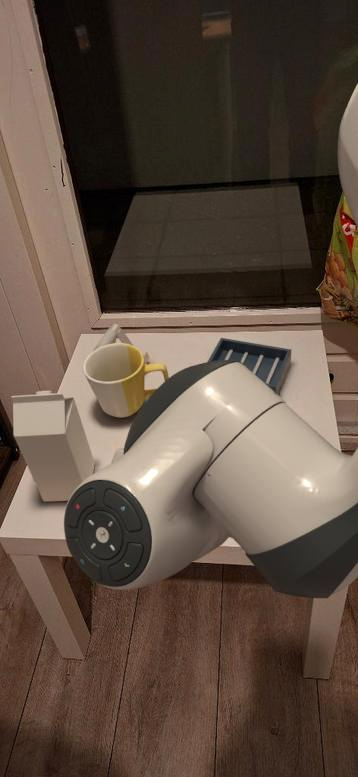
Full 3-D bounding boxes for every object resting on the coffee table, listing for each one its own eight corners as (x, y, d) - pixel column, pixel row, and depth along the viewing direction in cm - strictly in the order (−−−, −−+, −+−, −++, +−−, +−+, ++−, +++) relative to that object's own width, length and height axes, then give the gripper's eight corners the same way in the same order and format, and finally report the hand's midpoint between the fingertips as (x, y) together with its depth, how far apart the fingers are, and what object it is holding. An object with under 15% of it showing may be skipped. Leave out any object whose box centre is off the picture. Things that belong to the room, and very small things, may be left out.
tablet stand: (134, 390, 99) (124, 354, 94) (95, 385, 102) (84, 350, 96) (150, 361, 105) (142, 325, 100) (113, 357, 108) (104, 322, 102)
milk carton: (89, 500, 82) (57, 412, 70) (43, 502, 83) (3, 415, 70) (95, 463, 88) (67, 375, 75) (52, 466, 88) (17, 379, 75)
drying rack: (290, 364, 101) (291, 349, 98) (275, 402, 94) (276, 387, 91) (221, 351, 105) (220, 337, 103) (202, 387, 99) (201, 372, 96)
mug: (88, 426, 94) (74, 381, 87) (104, 386, 101) (92, 341, 94) (165, 430, 91) (157, 384, 84) (175, 389, 99) (169, 343, 92)
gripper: (308, 511, 45) (325, 496, 58) (102, 443, 53) (158, 443, 66) (289, 583, 45) (310, 552, 58) (85, 505, 53) (144, 493, 66)
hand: (228, 494), depth 62 cm, fingers open, 8 cm apart
